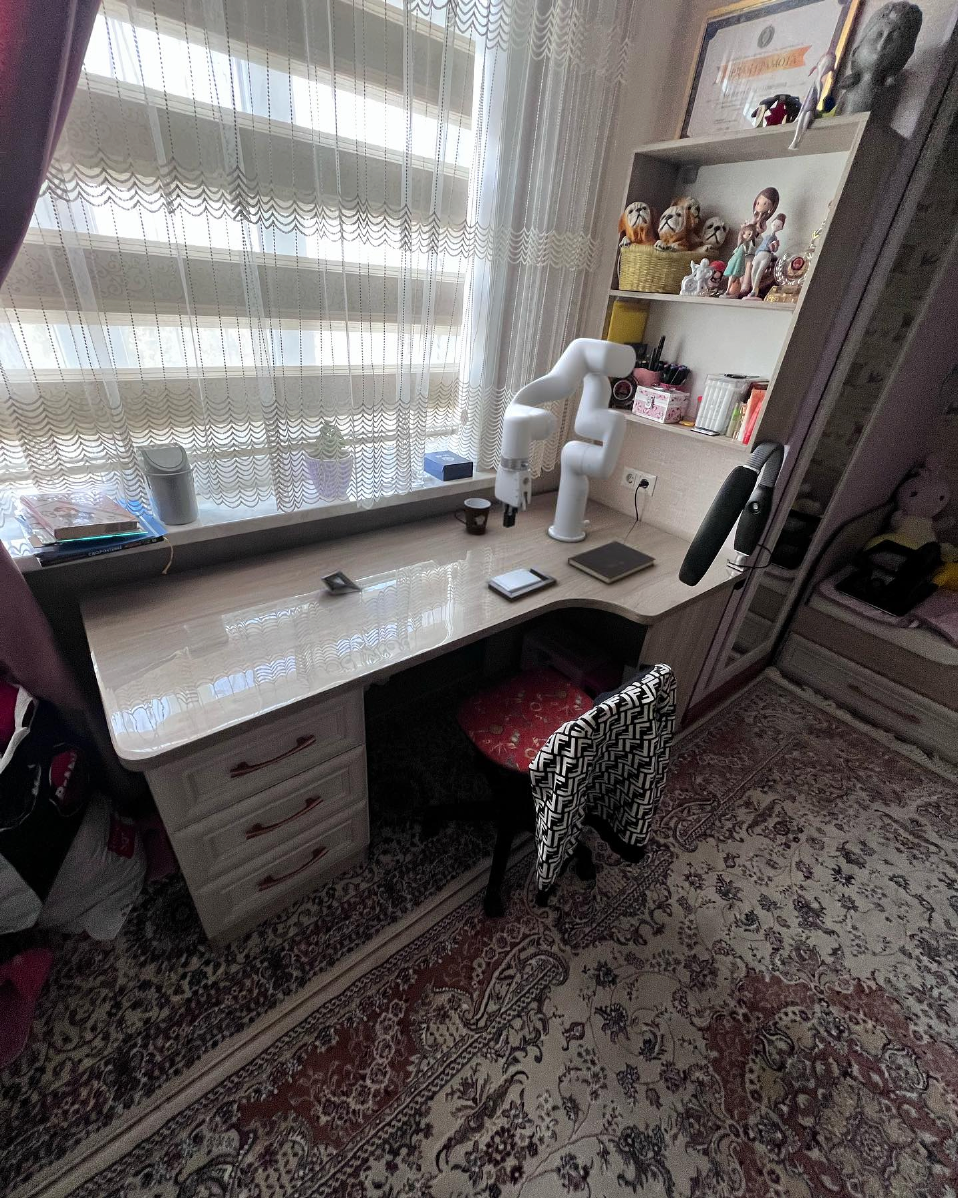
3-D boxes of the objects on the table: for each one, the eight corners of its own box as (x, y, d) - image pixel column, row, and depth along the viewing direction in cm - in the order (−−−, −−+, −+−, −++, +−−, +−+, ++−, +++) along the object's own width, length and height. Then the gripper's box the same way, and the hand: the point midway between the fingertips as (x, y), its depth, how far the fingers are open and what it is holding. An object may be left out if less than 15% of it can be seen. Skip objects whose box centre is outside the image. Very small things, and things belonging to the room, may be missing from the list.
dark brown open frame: (533, 571, 157) (534, 566, 156) (556, 584, 151) (557, 579, 151) (487, 588, 147) (488, 583, 146) (510, 602, 141) (511, 597, 140)
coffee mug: (489, 527, 183) (491, 499, 178) (487, 537, 176) (489, 509, 170) (456, 523, 184) (457, 496, 178) (452, 533, 176) (453, 505, 171)
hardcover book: (653, 565, 166) (655, 558, 165) (608, 585, 153) (610, 578, 152) (613, 546, 176) (614, 540, 175) (567, 563, 163) (568, 556, 162)
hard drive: (522, 567, 155) (489, 577, 148) (541, 579, 150) (508, 590, 143) (522, 572, 156) (489, 582, 149) (541, 584, 151) (507, 595, 144)
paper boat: (351, 575, 145) (371, 579, 139) (345, 597, 145) (365, 602, 139) (313, 563, 136) (333, 567, 130) (307, 587, 136) (326, 592, 130)
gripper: (545, 467, 136) (537, 532, 146) (505, 452, 146) (500, 514, 155) (524, 472, 132) (517, 538, 142) (485, 456, 141) (481, 519, 151)
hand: (508, 525), depth 149 cm, fingers closed
